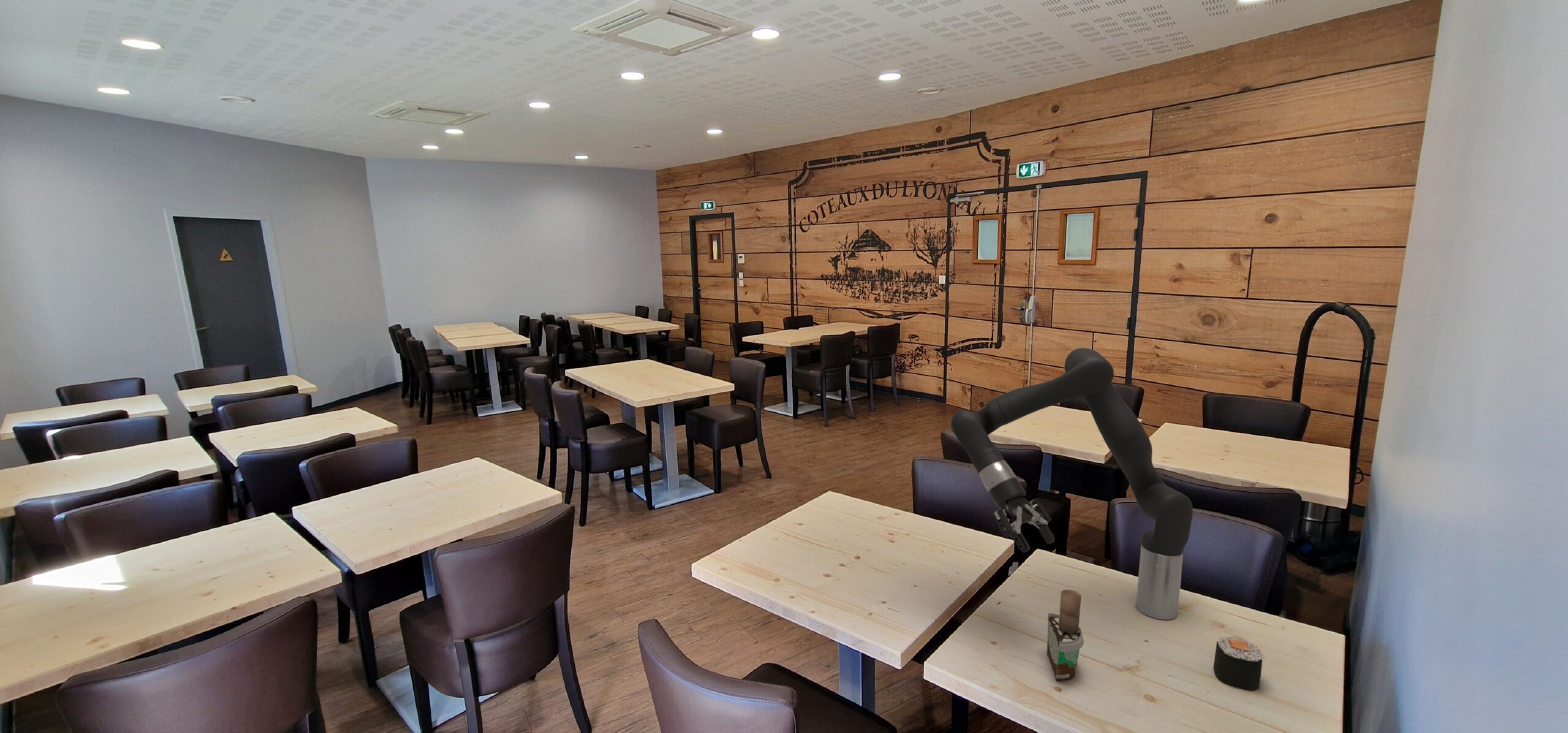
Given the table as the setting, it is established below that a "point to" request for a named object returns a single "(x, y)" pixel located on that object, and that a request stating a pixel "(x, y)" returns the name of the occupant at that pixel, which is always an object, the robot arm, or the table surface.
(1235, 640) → the sushi
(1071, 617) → the walnut cylinder
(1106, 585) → the table surface
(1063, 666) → the food container
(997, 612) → the table surface
